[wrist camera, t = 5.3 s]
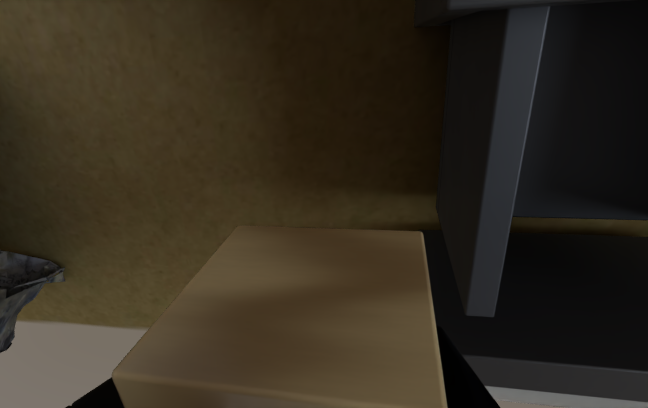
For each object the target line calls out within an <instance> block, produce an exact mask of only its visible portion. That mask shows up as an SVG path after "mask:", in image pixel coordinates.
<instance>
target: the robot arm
mask: <svg viewBox="0 0 648 408" xmlns="http://www.w3.org/2000/svg"><path fill="white" fill-rule="evenodd" d="M436 329H437V336H438V343H439V350H440V357H441V365H442V372H443V379H444V386H445V393H446V400H447V407H448V408H500V407H499V405H498V404H497V402H496V401H495V400H494V398H493V397H492V396H491V394H490V393H489V391H488V390H487V389H486V387H485V386H484V385H483V383H482V382H481V380H480V379H479V378H478V376H477V375H476V374H475V372H474V371H473V370H472V368H471V367H470V365H469V364H468V363H467V361H466V360H465V359H464V357H463V356H462V354H461V353H460V352H459V350H458V349H457V348H456V346H455V345H454V343H453V342H452V341H451V339H450V338H449V337H448V335H447V334H446V332H445V331H444V330H443V328H442V327H440V326H436ZM66 408H124V406H123V403H122V401H121V398H120V396H119V394H118V391H117V389H116V386H115V384H114V382H113V379H112V377H111V378H110V379H108V380H107V381H105V382H104V383H102V384H101V385H99V386H98V387H96V388H95V389H93V390H92V391H90V392H89V393H87V394H86V395H84V396H83V397H81V398H80V399H78V400H77V401H75V402H74V403H73V404H72V406H67V407H66Z"/></svg>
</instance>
